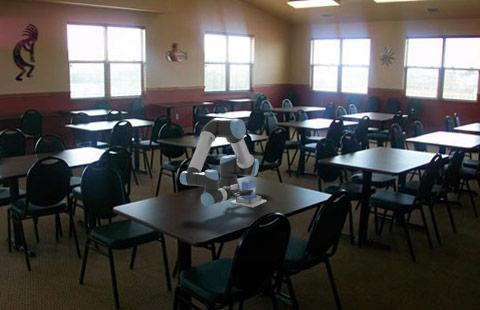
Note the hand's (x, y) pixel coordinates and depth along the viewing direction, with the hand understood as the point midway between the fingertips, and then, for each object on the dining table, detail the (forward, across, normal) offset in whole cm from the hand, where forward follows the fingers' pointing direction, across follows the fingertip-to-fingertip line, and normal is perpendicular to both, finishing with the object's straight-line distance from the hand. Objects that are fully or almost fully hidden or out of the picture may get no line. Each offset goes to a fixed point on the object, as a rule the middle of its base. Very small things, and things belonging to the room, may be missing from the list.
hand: (245, 188), depth 300 cm
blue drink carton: (+3, 0, -9) cm, 9 cm away
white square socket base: (+3, 0, -10) cm, 10 cm away
